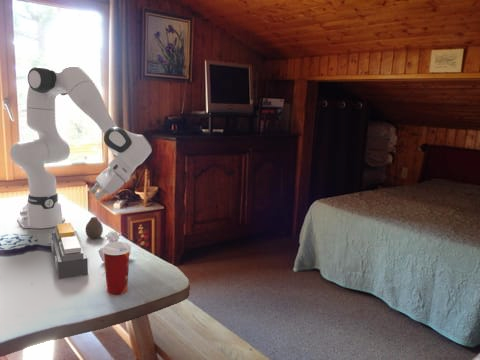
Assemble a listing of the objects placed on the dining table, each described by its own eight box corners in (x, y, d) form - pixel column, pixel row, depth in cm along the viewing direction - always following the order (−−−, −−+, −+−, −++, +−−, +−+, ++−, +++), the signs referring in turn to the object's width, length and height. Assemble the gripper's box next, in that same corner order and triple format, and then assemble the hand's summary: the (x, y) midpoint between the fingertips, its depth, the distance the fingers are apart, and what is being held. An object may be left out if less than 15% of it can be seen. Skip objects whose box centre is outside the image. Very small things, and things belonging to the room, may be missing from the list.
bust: (129, 261, 154) (123, 233, 158) (135, 254, 149) (129, 226, 152) (98, 267, 147) (92, 238, 151) (103, 261, 142) (96, 231, 146)
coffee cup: (135, 291, 127) (135, 246, 124) (112, 299, 120) (111, 252, 117) (121, 282, 132) (121, 239, 129) (97, 290, 126) (97, 244, 123)
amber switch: (56, 227, 156) (56, 223, 156) (70, 226, 159) (70, 222, 158) (59, 237, 146) (59, 233, 146) (74, 236, 148) (74, 231, 148)
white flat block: (61, 241, 142) (60, 237, 141) (76, 240, 144) (76, 235, 144) (64, 254, 131) (64, 249, 131) (80, 251, 134) (80, 247, 134)
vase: (97, 241, 167) (96, 221, 165) (82, 239, 168) (81, 219, 167) (106, 235, 174) (105, 216, 172) (91, 234, 175) (91, 214, 173)
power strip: (50, 247, 157) (50, 228, 156) (76, 244, 162) (76, 225, 160) (57, 279, 131) (56, 256, 130) (87, 274, 136) (87, 252, 134)
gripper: (108, 160, 165) (83, 184, 162) (118, 168, 147) (91, 196, 144) (119, 170, 168) (95, 194, 165) (131, 180, 150) (104, 207, 147)
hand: (93, 195), depth 155 cm, fingers open, 8 cm apart
